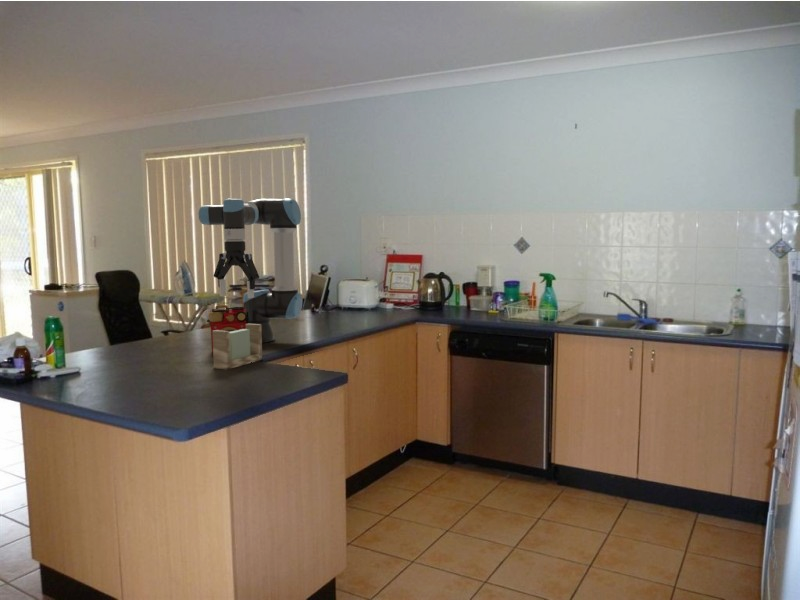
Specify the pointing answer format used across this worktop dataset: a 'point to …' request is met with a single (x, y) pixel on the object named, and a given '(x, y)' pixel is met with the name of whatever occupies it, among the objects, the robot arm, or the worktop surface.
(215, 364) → the u-shaped stone holder
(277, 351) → the worktop surface
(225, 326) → the radio
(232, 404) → the worktop surface
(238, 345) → the door panel
